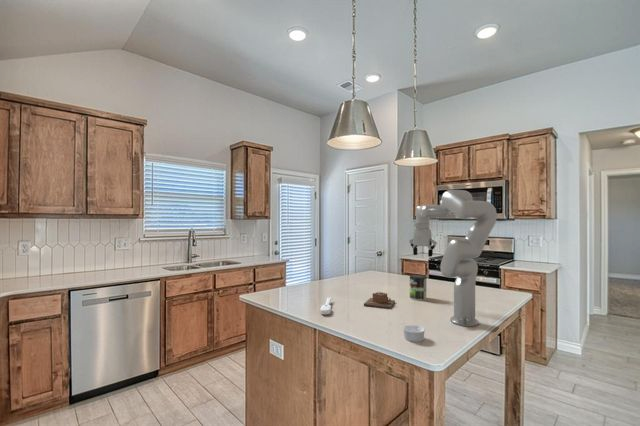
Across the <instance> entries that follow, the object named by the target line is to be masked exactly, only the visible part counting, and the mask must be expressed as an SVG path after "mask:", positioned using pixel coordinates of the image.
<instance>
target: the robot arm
mask: <svg viewBox="0 0 640 426" xmlns="http://www.w3.org/2000/svg"><path fill="white" fill-rule="evenodd" d="M439 203H440V204H424V205H418V206H416V207H415V224H414V227H415V228H414V231H413V238H412V239H409V240H408V241H409V244H410V247H412V249H413V250H412V251H413V252H412V253H413V256H417V255H418V247H427V248H428V254H427V255H428V258H431V257H433V252H434V251H433V250H434V249H435V248H436V246H437V244H438V242H437V241H435V240H433V236H432V230H431V229H430V219H444V218H447V217H450V216H451V215H452V214H453V215H454V216H455V217H457V218H459V219H461V220H476V221H475V222H474V223H473V224H472V225H471V226H470V227H469V229H468V231H467V234H466V236H465V237H463V238H460V237H459V238H453V239H451V240H450V241H449V242H448V243H447V245H446V248H445V251H444V254H443V256H442V259H441V262H440V268H439V269H440V272H441V275H442V276H444V277H445V278H448V279H453V278H456V279H455V281H454V283H453V284H454V285H453V316H451V317H450V322H451V323H452V324H455V325H458V326H462V327H477V326H478V325H480V321H479V320H478V319H476V281H477V275H478V271H479V270H478V269H479V267H478V264H477V263H478V262H477V261H476V260H475V259H476V258H479V257H480V256H481V254H482V252H483V250H484V247H485V245H486V243H487V241H488V238H489V236H490V233H491V232H492V230H493V229H494V227H495V225H496V222H497V219H498V215H497V209H496V207H495V206H494V205H493V204H492V203H491V202H488V201H485V200H474V199H473V195H472V193H471V192H470V191H467V190H464V189H448V190H446V191H444V192H443V193H442V194H441V200H440V201H439Z"/></svg>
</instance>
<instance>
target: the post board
mask: <svg viewBox="0 0 640 426" xmlns="http://www.w3.org/2000/svg"><path fill="white" fill-rule="evenodd" d="M377 292H378V294H380V295H381V291H377ZM395 304H396V300H395V299H393V300H392V299H391V298H390V297H388V301H387V303H383V304H378V303H374V302H373V297H370V298H369V299H368V300H366V301H365V302H364V303H363V306H364V307H370V308H377V309H386V310H391V308H392V307H393V306H394V305H395Z"/></svg>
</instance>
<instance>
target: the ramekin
mask: <svg viewBox="0 0 640 426" xmlns="http://www.w3.org/2000/svg"><path fill="white" fill-rule="evenodd" d="M402 330H403V337H404V339H405V340H406V341H408V342H413V343H419V342H422V341H424V338H425V330H426V329H425V328H424V327H423V326H421V325H414V324H409V325H405V326H403V327H402Z"/></svg>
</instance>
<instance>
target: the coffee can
mask: <svg viewBox="0 0 640 426" xmlns="http://www.w3.org/2000/svg"><path fill="white" fill-rule="evenodd" d="M409 299H410V300H413V301H426V300H427V275H424V274H414V273H413V274H410V275H409Z"/></svg>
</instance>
